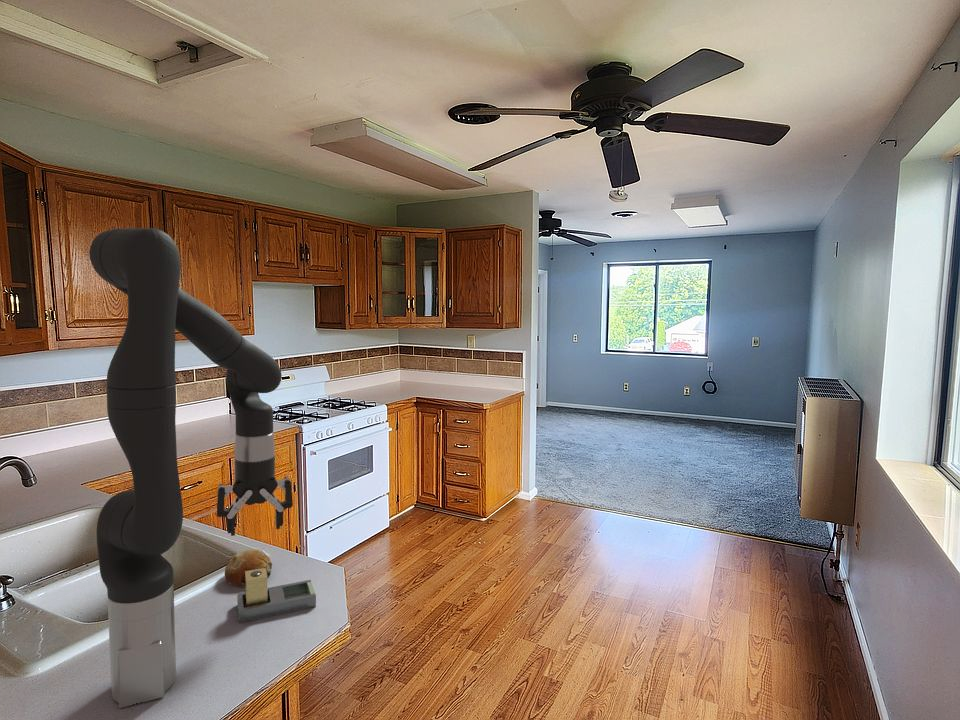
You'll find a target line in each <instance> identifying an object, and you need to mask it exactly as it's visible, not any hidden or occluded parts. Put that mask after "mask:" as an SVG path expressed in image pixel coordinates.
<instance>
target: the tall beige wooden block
mask: <svg viewBox="0 0 960 720" xmlns="http://www.w3.org/2000/svg"><path fill="white" fill-rule="evenodd" d="M267 588H268V579H267V572H266V568H261V569H255V570H250V571H245V587H244V590H245V591H244V592H245V600H246V605H245V608H246V607H251V606H256V605H261V604H266V603H269V601H268V595H267Z"/></svg>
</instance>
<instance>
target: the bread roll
mask: <svg viewBox="0 0 960 720" xmlns="http://www.w3.org/2000/svg"><path fill="white" fill-rule="evenodd" d="M272 566H273V563H272V561H271V559H270V557H269V556H268V554H267V553H266V552H265V551H263V550H261V549H255V548H252V549H251V548H250V549H245V550H242V551H240V552H238V553H236V554H234V555H233V556H232V557H230V559H229V561H227V564H226V566H225V568H224V577H225V581H226V582H227V583H228V584H229V583H230V584H229V585H232V586H234V585H235V587H238V588H239V587H241V588H245V571H250V570H255V569H261V568H266V572H267V578H268V579H269V577H270V576H271V574H272V573H271V572H272Z"/></svg>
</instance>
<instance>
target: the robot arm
mask: <svg viewBox="0 0 960 720" xmlns="http://www.w3.org/2000/svg"><path fill="white" fill-rule="evenodd" d="M177 246H178V245H177V244H176V243H175V241H174V240H173V238H172V237H171V236H170V235H169V234H167V233H166V232H165V231H163V230H161V229H158V228H154V227H127V228H125V227H121V228H113V229H107V230H105V231H102V232H100V233H99V234H98V235H96V236H95V237H94V238H93V240H92V241H91V243H90V246H89V252H88V253H89V260H90V264H91V266H92V268H93V269H94V271H95V272H96V274H97V275H98V276H99V277H100V278H101V279H102V280H104V281H105V282H106V283H108V284H109V285H111V286H112V287H114V288H115V289H117V290H119V291H120V292H122V293H123V294H124V295H126V296H127V320H126V326H125V330H124V332H123V335H122V337H121V339H120V341H119V344H118V345H117V348H116V350H115V352H114V354H113V356H112V358H111V361H110V364H109V366H108V369H107V373H106V409H107V410H106V411H107V419H108V421H109V424H110V427H111V429H112V432H113V435H114V436H115V438H116V441H117V442H118V445H119V446H120V448H121V450H122V452H123V453H124V455H125V457H126V460H127V462H128V465H129V468H130V471H131V476H132V483H133V484H132V485H133V489H128V490H123V491H121V492H117V493H116V494H114V495H112V496H111V497H110V498H109V499H108V500H107V501H106V502H105V503H104V505H103V506H102V508H101V510H100V512H99V515H98V518H97V522H96V546H97V547H96V548H97V554H98V565H99V574H100V578H101V580H102V582H103V584H104V586H105V588H106V589H107V590H106V591H107V610H108V611H107V613H108V614H107V617H108V618H107V619H108V636H109V639H108V640H109V658H110V659H109V660H110V662H109V663H110V681H111V683H110V684H111V686H110V687H111V697H112V699H113V700H114V701H115V702H116V703H118V708H119V709H122V708H126V707H130V706H134V705H137V704H136V703H138V704H142V703H145V702H150V701H154V700H157V699H161V698H164V697H165V693H166V692H167V691H168V690H169V689H170V688H171V687H172V686H173V684H174V683H175V681H176V679H177V659H176V658H177V657H176V656H177V654H176V626H175V625H176V624H175V623H176V621H175V619H176V618H175V586H174V585H175V584H174V583H175V580H174V579H175V578H174V577H175V576H174V568H173V566H172V564H171V563H170V562H169V560H167V559H166V558H165V557H164V556H163V555H164V554H165V553H166V552H167V551H169V550H170V549H171V548H173V546H174V544H175V543H176V542H177V540H178V538H179V536H180V534H181V530H182V526H183V521H184V510H183V499H182V492H181V484H180V476H179V467H178V466H179V465H178V456H177V455H178V454H177V451H178V450H177V434H176V433H177V430H176V412H177V410H176V409H177V408H176V407H177V389H176V388H177V384H176V383H177V382H176V378H177V377H176V331H177V332H178V333H180V334H181V335H182V336H183V337H184V338H186V339H187V340H188V341H189V342H190V343H191V344H193V346H195V348H197V349H198V350H199V351H201V353H203V354H204V355H205V356H206V357H207V358H208V359H209V360H210V361H211V362H212V363H214V364H215V365H217V366H218V367H221V368H223V369H226V372H225V383H226V385H227V390H228V393H229V397H230V402H231V405H232V407H233V411H234V415H235V440H234V449H233V454H234V481H233V485H225V484H224V483H220V484H218V486H217V499H216V516H217V518H225V519H226V532H227V534H230V536H231V537H234V536H236V525H235V524H236V522H235V521H236V520H235V515H236V514H237V513H238V512H239V511H240V510H241V509H242V507H244V505H247V506H253V505H255V504H259V505H260V504H261V505H262V504H265V502H268V503H269V504H270V505H271V506H272V507H274V508H275V510H274V511H275V512H274V513H275V514H274V516H275V517H274V520H275V521H274V523H275V524H274V525H275V529H276V530H280V529H281V527H283V525H284V512H285V510H287V509H291V508H292V507H293V504H294V503H293V501H294V500H293V492H292V491H293V489H292V481H291V479H290V477H288V476H286V477H284V478H283V479H276V456H275V455H276V453H275V452H276V442H275V436H274V410H273V407H272V406H271V405H270V404H268V403H267V402H265V401H263V400H262V399H261V398H260V395H259V394H268V393H271V392H273V391H275V390H276V389H277V388H278V387H279V386H280V384H281V382H282V370H281V367H280V365H279V364H278V362H277V361H276V360H275V359H274V358H273V357H272V356H271V355H269V354H268V353H267V352H266V351H264V350H262V348H260V347H258V346H256V345H255V344H254V343H252V342H250V341H248V340H247V339H246V338H244V336H243V335H242V334H241V333H240V332H239V331H238V330H237V328H236V327H234V326H233V325H232V324H231V323H230V322H229V321H228V320H227V319H226V318H225V317H224V316H222V315H221V313H219V312H218V311H216V310H215V309H213V308H212V307H210V306H208V305H207V304H205V303H204V302H202V301H200V300H199V299H197V298H195V297H194V296H192V295H191V294H189V293H187V292H186V291H185V290H183V288H180V279H181V257H180V252H179V249H178V247H177ZM278 487H279V488H280V489H281V490H282V491H284V500H283V501H282V502H281V501H280V500H279V498H278V497H277V496H276V495H275V494H274V492H275V491H276V489H277V488H278ZM231 492H232V493H233V494H234V495H235V497H236V498H234V500H233V501H232V503H231V505H230V506H229V507H228V508H225V499H226V498H228V497H229V495H230V493H231ZM162 554H163V555H162ZM141 702H142V703H141ZM133 704H134V705H133Z"/></svg>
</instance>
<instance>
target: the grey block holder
mask: <svg viewBox="0 0 960 720" xmlns="http://www.w3.org/2000/svg"><path fill="white" fill-rule="evenodd" d="M236 594H237V596H236V598H237V599H236V601H237V605H236V606H237V613H238V614H237V615H238V623H239V624H241V623H245V622H246V623H247V622H250V621H255V620H261V619H264V618H265V619H266V618H269V616H270V617H273V616H279V615H284V614H287V613H293V612H296V611H297V612H299V611H302V610H307V609H310V608H311V609H312V608H315V607H317V595H316V592H315V589H314V586H313V583H312V580H311V579H307V580H303V581H297V582H293V583H292V582H291V583H286V584H281V585H276V586H271V587H267V595H268V600H269V601H268V603H266V604H261V605H256V606H251V607H246V600H245V591H244V592H239V593H236ZM243 605H245V607H244V606H243Z"/></svg>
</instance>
